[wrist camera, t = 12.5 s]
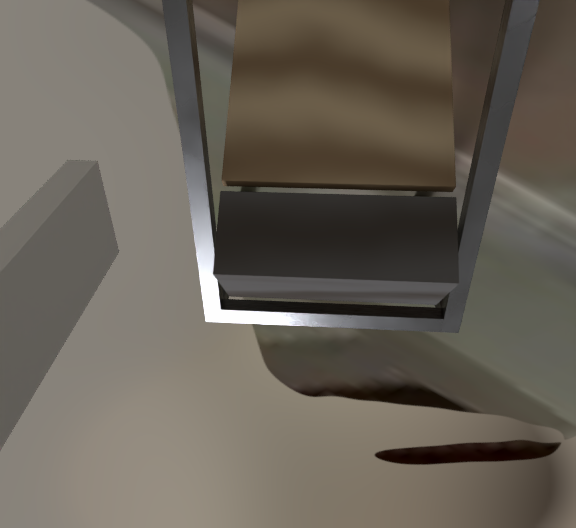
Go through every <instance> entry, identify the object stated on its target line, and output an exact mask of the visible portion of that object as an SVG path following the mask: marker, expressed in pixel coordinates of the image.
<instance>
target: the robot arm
mask: <svg viewBox="0 0 576 528" xmlns="http://www.w3.org/2000/svg"><path fill="white" fill-rule="evenodd" d="M118 253H119V250H118V246H117V241H116V237H115V233H114V228H113V224H112V220H111V216H110V212H109V208H108V204H107V199H106V195H105V191H104V186H103V182H102V178H101V174H100V170H99V165H98V161H80V160H67V162H66V163H65V164H64V165H63V166H62V167H61V168H60V169H59V170H58V171H57V172H56V173H55V174H54V175H53V176H52V177H51V178H50V179H49V180H48V181H47V182H46V183H45V184H44V185H43V186H42V187H41V188H40V189H39V190H38V191H37V192H36V193H35V194H34V195H33V196H32V197H31V198H30V199H29V200H28V201H27V202H26V203H25V204H24V205H23V206H22V207H21V208H20V209H19V211H18V212H17V213H16V214H15V215H14V216H13V217H12V218H11V219H10V220H9V221H8V222H7V223H6V224H5V225H4V226H3V227H2V228H1V229H0V450H1V449H2V447H3V445H4V444H5V442H6V440H7V438H8V437H9V435H10V434H11V432H12V430H13V429H14V427H15V425H16V423H17V422H18V420H19V419H20V417H21V415H22V413H23V412H24V410H25V409H26V407H27V405H28V403H29V402H30V400H31V398H32V397H33V395H34V393H35V392H36V390H37V388H38V387H39V385H40V383H41V382H42V380H43V378H44V376H45V375H46V373H47V372H48V370H49V368H50V367H51V365H52V363H53V362H54V360H55V358H56V357H57V355H58V353H59V351H60V350H61V348H62V347H63V345H64V343H65V342H66V340H67V338H68V337H69V335H70V333H71V332H72V330H73V328H74V327H75V325H76V323H77V322H78V320H79V318H80V316H81V315H82V313H83V311H84V310H85V308H86V306H87V305H88V303H89V301H90V300H91V298H92V296H93V295H94V293H95V291H96V290H97V288H98V286H99V285H100V283H101V281H102V280H103V278H104V276H105V275H106V273H107V271H108V270H109V268H110V266H111V265H112V263H113V261H114V260H115V258H116V256H117V255H118Z"/></svg>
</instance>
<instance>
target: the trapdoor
mask: <svg viewBox="0 0 576 528" xmlns="http://www.w3.org/2000/svg"><path fill="white" fill-rule="evenodd" d="M222 183H223V185H224V186H245V187H283V188H321V189H359V190H397V191H435V192H453V190H454V189H455V187H456V178H455V149H454V121H453V93H452V65H451V36H450V8H449V0H239V1H238V12H237V22H236V33H235V44H234V54H233V65H232V75H231V86H230V97H229V107H228V118H227V129H226V139H225V150H224V160H223V171H222ZM213 275H214V276H215V278H216V279H217V280H218V282H219V283H220V284H221V286H222V287H223V288H224V290H225V291H226V292H227V294H228V295H229V296H236V297H259V298H283V299H308V300H333V301H358V302H382V303H407V304H432V305H437V304H438V303H439V302H440V301H441V300H442V299H443V298H444V297H445V296H446V295H447V294H448V293H449V292H451V291H452V290H453V289H454V288H455V287H456V286H457V285H458V284H459V263H458V234H457V206H456V197H419V196H382V195H345V194H308V193H271V192H234V191H221V192H220V203H219V214H218V224H217V235H216V245H215V256H214V267H213Z"/></svg>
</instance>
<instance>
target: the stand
mask: <svg viewBox="0 0 576 528" xmlns="http://www.w3.org/2000/svg"><path fill="white" fill-rule="evenodd" d="M162 3H163V11H164V18H165V25H166V33H167V40H168V48H169V55H170V62H171V70H172V77H173V84H174V92H175V99H176V106H177V114H178V121H179V128H180V136H181V143H182V151H183V158H184V165H185V173H186V179H187V187H188V195H189V201H190V209H191V217H192V224H193V232H194V239H195V246H196V254H197V261H198V268H199V276H200V283H201V290H202V298H203V305H204V312H205V320H206V322H226V323H247V324H270V325H293V326H315V327H338V328H361V329H384V330H407V331H430V332H452V333H459V329H460V325H461V321H462V317H463V313H464V309H465V304H466V300H467V296H468V292H469V288H470V284H471V280H472V276H473V271H474V267H475V263H476V259H477V255H478V251H479V247H480V243H481V239H482V234H483V230H484V226H485V222H486V218H487V214H488V210H489V206H490V202H491V197H492V193H493V189H494V185H495V181H496V177H497V173H498V169H499V164H500V160H501V156H502V152H503V148H504V144H505V140H506V136H507V132H508V127H509V123H510V119H511V115H512V111H513V107H514V103H515V99H516V95H517V90H518V86H519V82H520V78H521V74H522V70H523V66H524V62H525V57H526V53H527V49H528V45H529V41H530V37H531V33H532V29H533V25H534V20H535V16H536V12H537V8H538V4H539V0H506V1H505V5H504V10H503V15H502V20H501V24H500V29H499V34H498V39H497V44H496V48H495V53H494V58H493V63H492V68H491V72H490V77H489V82H488V87H487V91H486V96H485V101H484V106H483V111H482V115H481V120H480V125H479V130H478V134H477V139H476V144H475V149H474V154H473V158H472V163H471V168H470V173H469V178H468V182H467V187H466V192H465V197H464V201H463V206H462V211H461V216H460V221H459V225H458V230H457V234H458V263H459V284H458V285H457V286H456V287H455V288H454V289H453V290H452V291H451V292H449V293H448V294H447V295H446V296H445V297H444V298H443V299H442V300H441V301H440V302H439V303H438V304H437V305H435V307H436V308H431V307H407V306H382V305H358V304H333V303H309V302H284V301H260V300H235V299H234V300H233V299H228V298H229V295H228V294H227V292H226V291H225V290H224V288H223V287H222V286H221V284H220V283H219V282H218V280H217V279H216V278H215V276H214V275H213V267H214V256H215V245H216V235H217V232H216V222H215V213H214V203H213V194H212V184H211V175H210V165H209V156H208V147H207V137H206V128H205V118H204V109H203V99H202V90H201V80H200V71H199V61H198V52H197V43H196V33H195V24H194V14H193V5H192V0H162Z"/></svg>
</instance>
